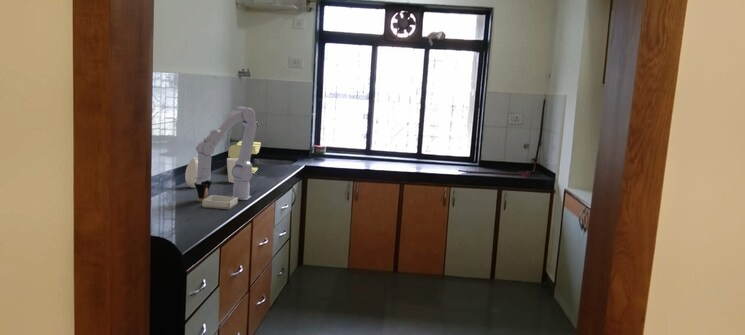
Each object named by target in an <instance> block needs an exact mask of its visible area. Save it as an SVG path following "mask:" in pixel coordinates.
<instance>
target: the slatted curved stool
mask: <svg viewBox="0 0 745 335" xmlns="http://www.w3.org/2000/svg"><path fill="white" fill-rule="evenodd" d="M241 144H242V140H239V141H238V142H236V144H232V145H230V147H229V148H228V152H227V153H228V157H227V158H239V154H240V149H241ZM261 145H262V143H261V142H260V141H254V143H253V148H252V153H251V155H258V153H260V149H261ZM258 169H259V168H258V167H253V166H252V174H256V173H257V172H258V171H259V170H258ZM257 170H258V171H257ZM256 171H257V172H256ZM255 172H256V173H255Z"/></svg>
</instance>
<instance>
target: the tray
mask: <svg viewBox="0 0 745 335" xmlns="http://www.w3.org/2000/svg"><path fill="white" fill-rule="evenodd" d="M238 204H239V199H238V197H232V196H228V195H217V194H211V195H209V196H207V198H206V199H204V200H202V202H201V207H202V208H210V209H219V210H220V209H221V210H232V208H233V207H235V206H236V205H238Z"/></svg>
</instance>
